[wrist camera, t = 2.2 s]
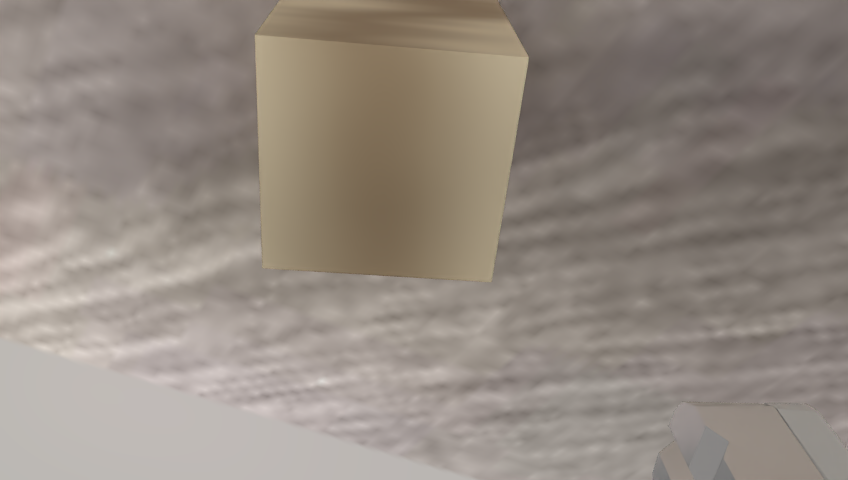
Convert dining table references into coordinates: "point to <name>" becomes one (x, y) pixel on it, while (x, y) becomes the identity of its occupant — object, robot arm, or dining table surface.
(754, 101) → the dining table surface
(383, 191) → the maple block
